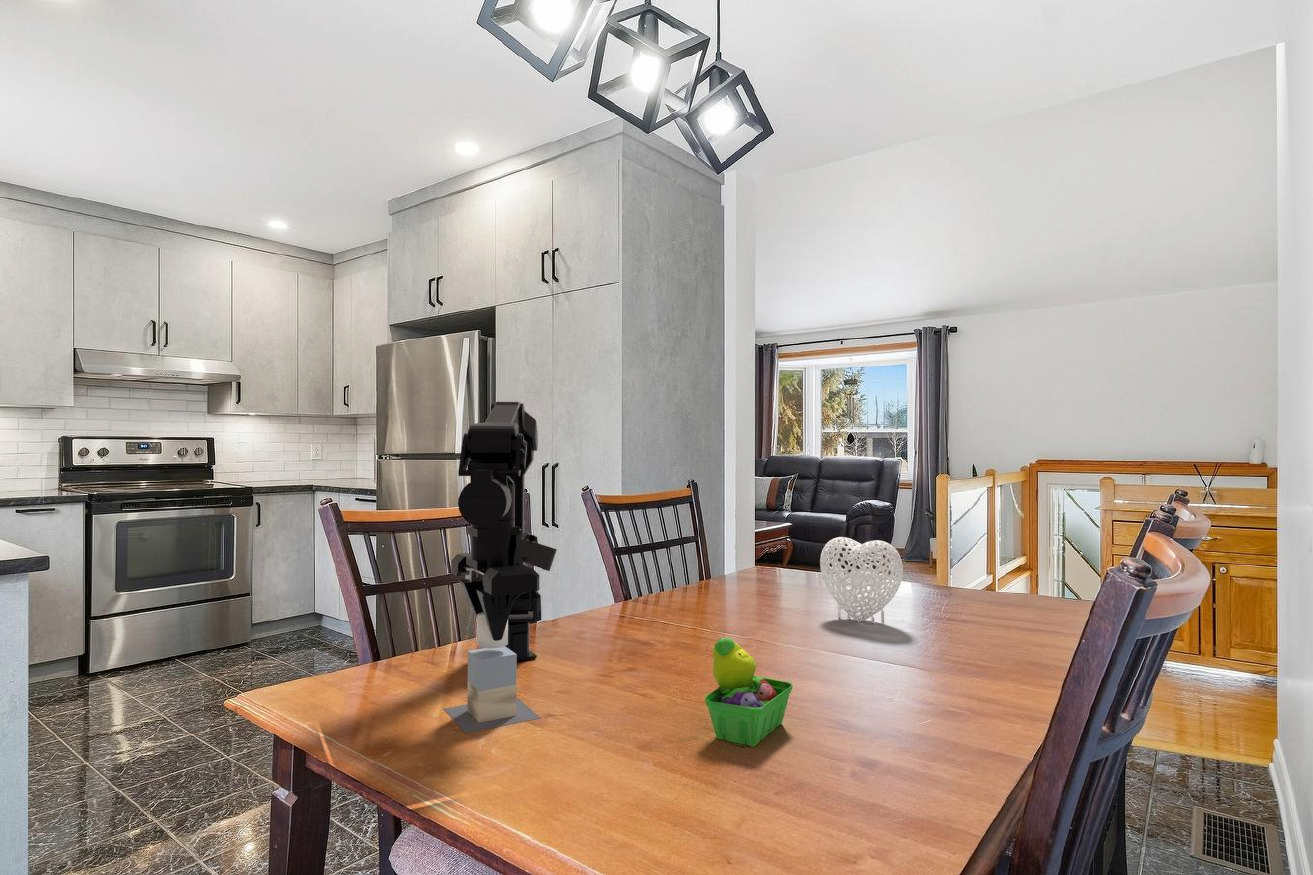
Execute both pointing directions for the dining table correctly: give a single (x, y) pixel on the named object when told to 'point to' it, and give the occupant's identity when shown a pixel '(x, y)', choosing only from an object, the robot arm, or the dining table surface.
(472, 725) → the mat
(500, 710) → the bottom block
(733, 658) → the fruit basket
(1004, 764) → the dining table surface
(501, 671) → the top block
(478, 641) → the white cylinder
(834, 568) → the decorative heart
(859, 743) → the dining table surface
